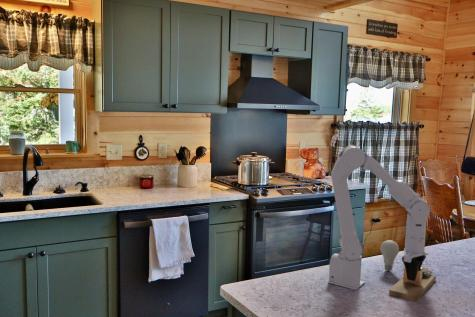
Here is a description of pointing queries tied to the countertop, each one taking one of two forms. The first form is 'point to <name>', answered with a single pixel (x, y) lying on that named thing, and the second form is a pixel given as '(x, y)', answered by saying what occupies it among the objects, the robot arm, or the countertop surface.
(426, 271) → the dished metal disc
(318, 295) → the countertop surface
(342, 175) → the robot arm
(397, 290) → the wooden board
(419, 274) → the forked latch lever
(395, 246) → the lightbulb
